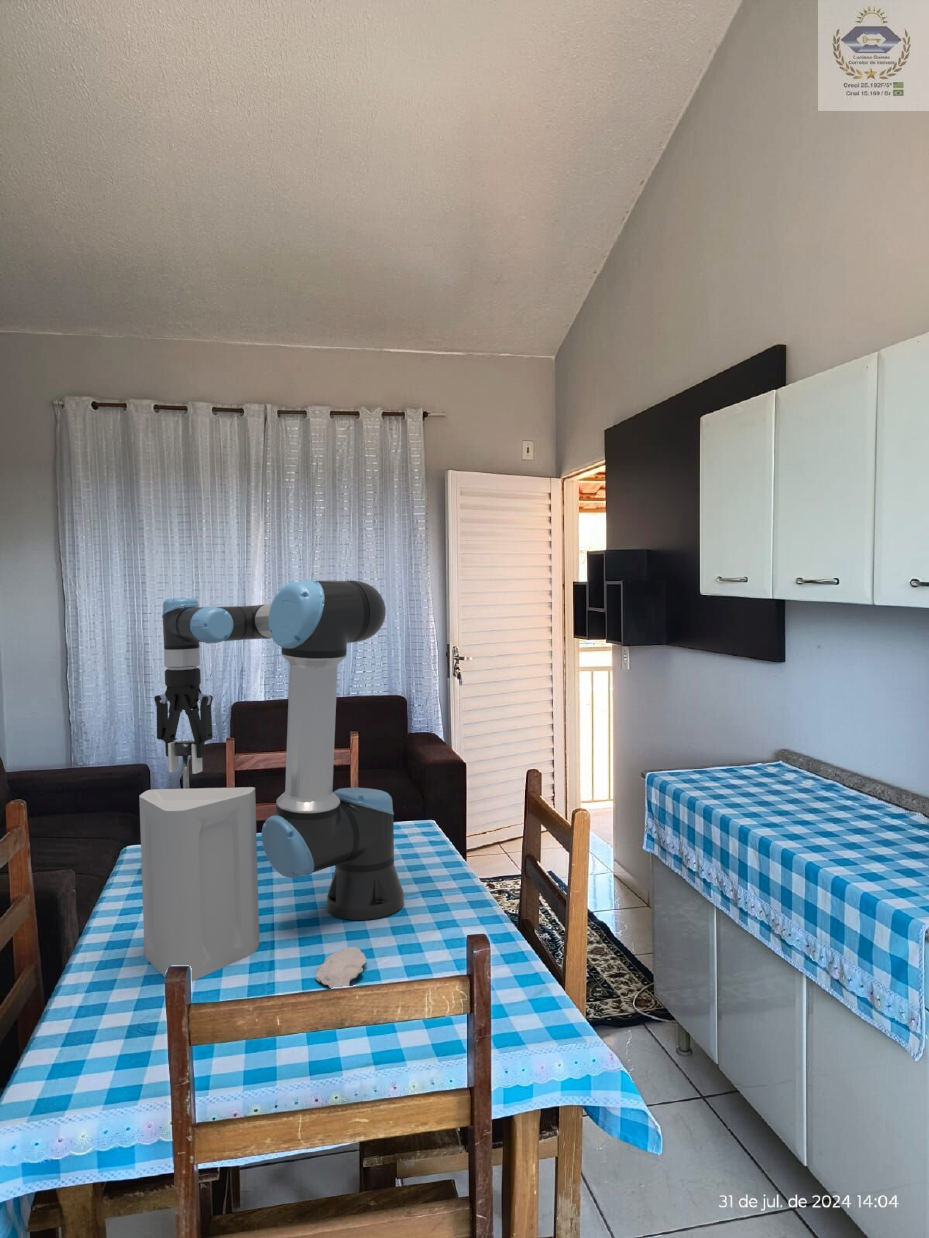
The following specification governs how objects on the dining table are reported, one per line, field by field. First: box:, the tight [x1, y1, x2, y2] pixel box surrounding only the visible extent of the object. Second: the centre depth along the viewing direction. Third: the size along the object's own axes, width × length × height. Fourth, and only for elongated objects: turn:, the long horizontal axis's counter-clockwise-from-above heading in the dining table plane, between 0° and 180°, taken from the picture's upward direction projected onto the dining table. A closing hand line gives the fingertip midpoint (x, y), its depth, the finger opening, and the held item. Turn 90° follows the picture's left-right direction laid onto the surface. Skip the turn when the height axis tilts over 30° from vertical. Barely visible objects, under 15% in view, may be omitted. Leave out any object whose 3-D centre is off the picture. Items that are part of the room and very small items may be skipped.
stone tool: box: [314, 946, 367, 989], centre depth 133 cm, size 8×3×15 cm
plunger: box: [174, 740, 195, 789], centre depth 182 cm, size 9×9×19 cm
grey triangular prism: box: [138, 786, 260, 982], centre depth 138 cm, size 19×15×28 cm
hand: (185, 771), depth 182 cm, fingers open, 5 cm apart
